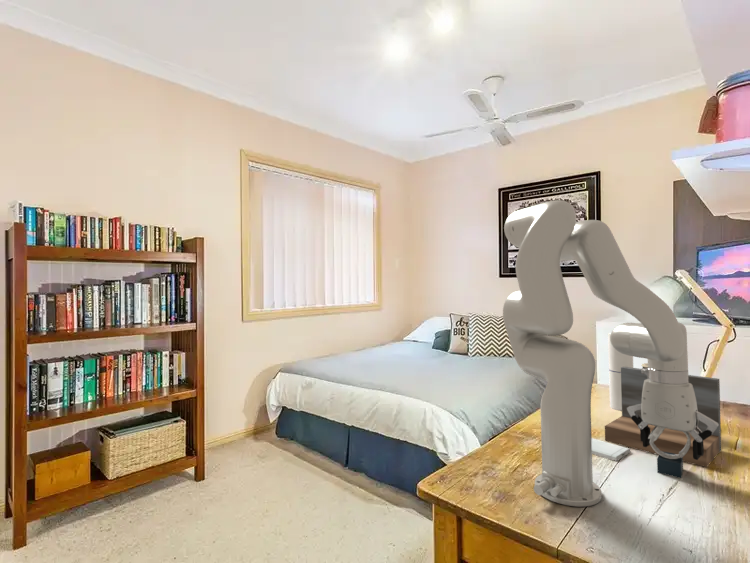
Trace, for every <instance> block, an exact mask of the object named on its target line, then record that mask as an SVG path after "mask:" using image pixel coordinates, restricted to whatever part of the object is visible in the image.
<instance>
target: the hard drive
mask: <svg viewBox="0 0 750 563" xmlns="http://www.w3.org/2000/svg"><path fill="white" fill-rule="evenodd" d="M629 453H631V448H630V447H629V448H628V447H626V446H623V445H619V444H616V443H612V442H608V441H605V440H604V441H603V440H601V439H597V438H593V437H592V455H595V456H597V457H601V458H604V459H607V458H608V460H612V461H614V460H615V462H617V461H619V460H620V459H622V458H624V457H626V455H629ZM623 456H624V457H623Z"/></svg>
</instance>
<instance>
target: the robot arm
mask: <svg viewBox="0 0 750 563" xmlns="http://www.w3.org/2000/svg"><path fill="white" fill-rule="evenodd" d="M503 226H504V227H503V229H504V231H503V232H504V235H505V237H506V239H507V241H508V242H509V243H510V244H511V245H513V246H514V247H516V248H518V249H519V250H518V252H517V255H516V260H515V274H516V280H517V284H518V287H519V289H518V290H515V291H513V292H511V293H510V294H509V295H508V296H507V298H506V299H505V301H504V303H503V306H502V307H503V308H502V319H503V324H504V327H505V332H506V333H507V337H508V340H509V344H510V347H511V350H512V354H513V356H514V359H515V362H516V363H517V365H518V367H519V368H520V369H521V370H522V372H524V373H526V374H527V375H529V376H532V377H535V378H537V379H541V380H543V381H546V382H547V384H546V386H545V389H544V391H543V394H542V396H541V400H540V430H541V431H540V435H541V438H540V439H541V469H542V470H541V474H540V475H538V476H536V478H535V479H534V486H533V491H534V493H535V494H536V495H538V496H542V497H544V498H545V499H548V500H549V501H551V502H554V503H557V504H560V505H564V506H569V507H591V506H594V505H596V504H598V503H600V502H601V500H602V497H603V496H602V489H601V488H600V486H599V485H598V484H596V483H595V482H594V481H593V479H594V477H593V454H592V438H593V436H592V413H591V412H592V410H591V409H592V403H591V402H592V389H593V385H594V384H593V383H594V380H595V379H594V377H595V373H596V360H595V356H594V354H593V352H592V351H591V350H590V348H588V347H587V346H586V345H584V344H583V343H581V342H579V341H576V340H573V339H570V338H569V339H568V338H563V337H557V336H561V335H564V334H566V333H568V332H569V331H570V330H571V328H572V326H573V324H574V312H573V308H572V305H571V301H570V297H569V294H568V292H567V288H566V284H565V282H564V278H563V273H562V268H561V262H567V261H575V262H576V263H577V265H578V267H579V269H580V271H581V272H582V274H583V277H584V278H585V280H586V282H587V284H588V286H589V288H590V291H591V292H592V294H593V295H594V296H595V297H596V298H598V299H600V300H601V301H604V302H605V303H607V304H609V305H612V306H614V307H616V308H618V309H620V310H621V311H624V312H626V313H628V314H629V315H631V316H632V317H634V318H635V319H636V320H637V321H639V322H625V323H621V324H619V325H617V326H616V327H614V329H613V330H611V332H610V333H611V336H610V341H611V344H612V346H613V347H614V349H616V350H617V351H618V352H620V353H622V354H625V355H629V356H633V358H634V357H636V358H641V359H647V363H648V367H647V368H643V367H642V368H640V369H641V373H642V374H645V375H647V378H648V379H646V380H644V384H643V391H642V403H639V404H635V405H632V406H629V407H627V411H628V413H629V414H630V416H631V419H632V420H633V421H634V422H635V423H636V424H637V425H638V428H639V429H640V438H641V441H642V442H643V447H647V446H649V445H650V439H648V436H649V435H650V428H649V427H648V425H649V424H650V425H654V426H658V427H663V428H668V429H672V430H677V431H682V432H689V433H690V434H691V435H692V436H693V438H694V440H693V458H694V459H695V460H698V459H699V458H700V457H701V456H703V454H704V446H703V440H705V439H706V438H708V437H710V436H711V435H712V434H713V432H714V431H715V430H716V428H717V427H718V425H719V424H718V423H717V422H716V421H714V420H712V419H710V418H709V417H707V416H705V415H704V414H702V413H700V412H698V409H697V402H696V397H695V393H694V389H693V386H692V384H691V383H689V377H688V375H689V354H688V353H689V352H688V332H687V327H686V325H685V324H683V323H682V322H679V321H678V319H677V316H676V315H675V312H673V310H672V309H671V306H669V305H668V304H667V302H666V301H664V300H663V299H662V298H661V297H659V296H658V295H657V294H656V293H655V292H654V291H652V290H651V289H650V288H648V287H647V286H646V285H644V284H643V283H641V282H639V280H637V279H636V278H635V276H634V275H633V273H632V271H631V269H630V266H629V265H628V263H627V261H626V259H625V257H624V255H623V252H622V250H621V248H620V247H619V245H618V243H617V239H616V238H615V236H614V235H613V232H612V230H611V229H610V227H609V226H608V224H606V223H605V222H604V221H602V220H597V219H587V220H586V219H585V220H581V221H580V220H579V221H577V213H576V210H575V208H574V206H573V205H572V204H571V203H570V202H568V201H566V200H550V201H549V200H548V201H545V202H541V203H537V204H534V205H532V206H528V207H523V208H520V209H518V210H516V211H513V212H512V213H511V214H510V215H508V217H507V218H506V220H505V223H504V225H503ZM640 409H641V417H642V419H641V418H640V417H639V415H637V412H636V410H640ZM699 420H700V421H701V422H703V423H705V424H706V425H707V426H708V428H707V429H706V430H705V431H703V432H702V431H701V430H700V429H699V428H698V427H697V426H698V423H699Z"/></svg>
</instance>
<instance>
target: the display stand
mask: <svg viewBox="0 0 750 563" xmlns="http://www.w3.org/2000/svg"><path fill="white" fill-rule="evenodd" d="M641 369H642V368H637V367H633V368H631V367H621V393H622V411H621V416H619V417H618V418H616V419H614V420H613V421H611V422H608V423H607V424H606V425H604V442H608V443H611V444H615V445H619V446H623V447H626V448H628V447H629V448H630V449H631V448H632V449H636V450H639V451H644V452H646V453H647V452H648V453H651V454H655V455H659V454H657V453H656V452H655V451H654V450H653V448H652V447H651V445H649V446H647V447H643V442H642V441H641V438H640V429H639V428H638V425H637V424H636V423H635V422H634V421H633V420H632V419H631V416H630V414H629V413H628V411H627V407H629V406H632V405H635V404H639V403H642V391H643V384H644V380H646V379H648V378H647V375H645V374H642V373H641ZM688 377H689V383H691V384H692V386H693V389H694V393H695V397H696V402H697V409H698V412H700V413H702V414H704V415H705V416H707V417H709V418H710V419H712V420H714V421H716V422H717V423H718V424H719V425H718V427H717V428H716V430H715V431H714V432H713V434H712V435H711V436H710V437H708V438H706V439H705V440H703V446H704V454H703V456H701V457H700V458H699V459H698V460H695V459H694V458H693V440H694V438H693V436H692V435H691V434H690V433H689V432H688V433H689V434H690V437H691V441H690V442H691V445H690V448H689V450H688V452H687V453H686V454H685V455H684V456H683V462H685V463H689V464H693V465H697V466H701V467H706V468H707V467H708V466H709V465H710V464H711V463H712V462H713V461H714V459H715V458H716V457H717V456H718V455H719V454H720V453H721V451H722V430H721V390H720V387H721V386H720V383H721V382H720V378H715V377H706V376H701V375H700V376H699V375H692V374H688ZM636 412H637V415H639V417H640V418H641V419H642V417H641V409H640V410H636ZM648 427H649V428H650V433H651V431H652V430H653V429H654V427H655V426H654V425H650V424H649V425H648ZM697 427H698V428H699V429H700V430H701V431H702V432H703V431H705V430H706V429H707V428H708V426H707V425H706V424H705V423H703V422H701V421H700V420H699V423H698V426H697ZM687 439H688V438H687V436H686V434H685V433H684V432H682V431H677V430H672V429H668V428H665V429H664V430H663V432H662V433H661V435H660V436H659V437H658V439H657V440H656V441H653V442H654V444H655V445H656V448H658V449H659V450H660V451H663V452H668V453H673V454H679V452H680V451H681V450H682V449H683V448H684V447H685V445H686V443H687ZM718 453H719V454H718ZM717 454H718V455H717ZM716 455H717V456H716ZM715 456H716V457H715ZM714 457H715V458H714ZM711 461H712V462H711ZM710 462H711V463H710ZM709 463H710V464H709Z"/></svg>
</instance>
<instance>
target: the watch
mask: <svg viewBox="0 0 750 563" xmlns="http://www.w3.org/2000/svg"><path fill="white" fill-rule="evenodd" d="M664 429H665V428H663V427H658V426H655V427H654V429H653V430H652V431H651V433H650V435H649V436H648V439H650V445H651V447H652V448H653V450H654V451H655V452H656V453H657V454H656V455H658V454H659V455H658V456H657V458H656V465H657V466H656V467H657V469H656V470H657V473H658V474H661V475H667V476H670V477H675V478H680V479H681V478H682V476H683V471H684V461H683V456H684V455H685V454H686V453H687V452H688V450H689V448H690V445H691V442H690V441H691V437H690V434H689V433H688V432H684V433H685V434H686V436H687V438H688V439H687V443H686V445H685V447H684V448H683V449H682V450H681V451H680V452H679V454H673V453H668V452H663V451H660V450H659V449H658V448H656V445H655V444H654V442H653V441H656V440H657V439H658V437H659V436H660V435H661V433H662V432H663V430H664Z"/></svg>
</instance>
